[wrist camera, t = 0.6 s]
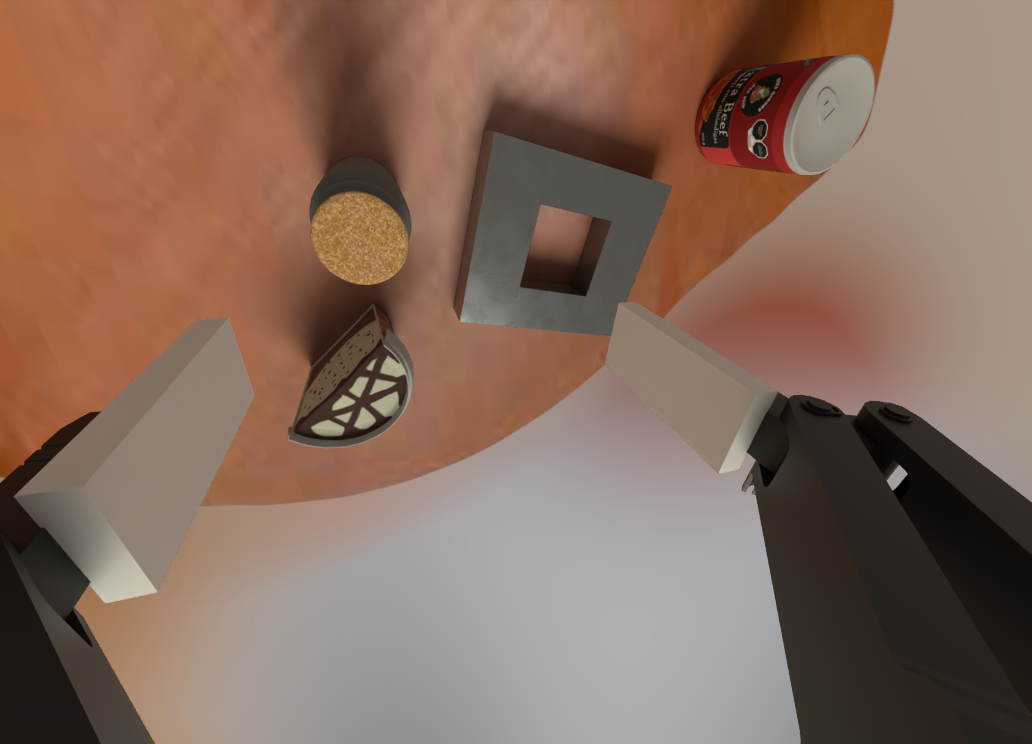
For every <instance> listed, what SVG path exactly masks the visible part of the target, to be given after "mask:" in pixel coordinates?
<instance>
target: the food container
mask: <svg viewBox="0 0 1032 744" xmlns="http://www.w3.org/2000/svg"><path fill="white" fill-rule="evenodd" d="M413 383H414V369H413V364H412V360H411V358H410V355H409V353H408V351H407V349H406V348H405V346H404V344H403V343H402V342H401V341H400V340H399V338H398V337H397V336H396V335H395V334H394V332H393V329H392V326H391V324H390V321H389V320H388V318H387V316H386V315H385V314H384V312H383V311H382V310H381V309H380V308H379V307H378V306H377V305H376V304H374V303H373V304H372V305H371V306H370V307H369V308H368V309H367V311H366V312H365V313H364V314H363V315H362V316H361V317H360V318H359V319H358V320H357V321H356V322H355V323H354V324H353V325H352V326H351V327H350V328H349V329H348V330H347V331H346V332H345V333H344V334H343V335H342V336H341V337H340V338H339V339H338V340H337V341H336V342H335V343H334V344H333V345H332V346H331V347H330V348H329V349H328V351H327V352H326V353H325V354H324V355H323V356H322V357H321V358H320V359H319V360H318V361H317V362H316V363H315V364H314V365H313V366H312V367H311V369H310V373H309V376H308V379H307V382H306V385H305V388H304V391H303V395H302V398H301V401H300V404H299V407H298V410H297V414H296V417H295V420H294V423H293V426H292V427H289V428H288V437H289V440H290V441H292V442H295V443H298V444H302V445H306V446H310V447H318V448H342V447H349V446H354V445H358V444H361V443H364V442H367V441H369V440H371V439H374V438H376V437H378V436H379V435H381V434H382V433H384V432H386V431H387V430H388V429H389V428H390V427H392V426H393V425H394V424H395V422H396V421H397V420H398V419H399V418H400V416H401V415H402V413H403V412H404V410H405V409H406V407H407V405H408V403H409V400H410V397H411V392H412V388H413Z"/></svg>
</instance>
